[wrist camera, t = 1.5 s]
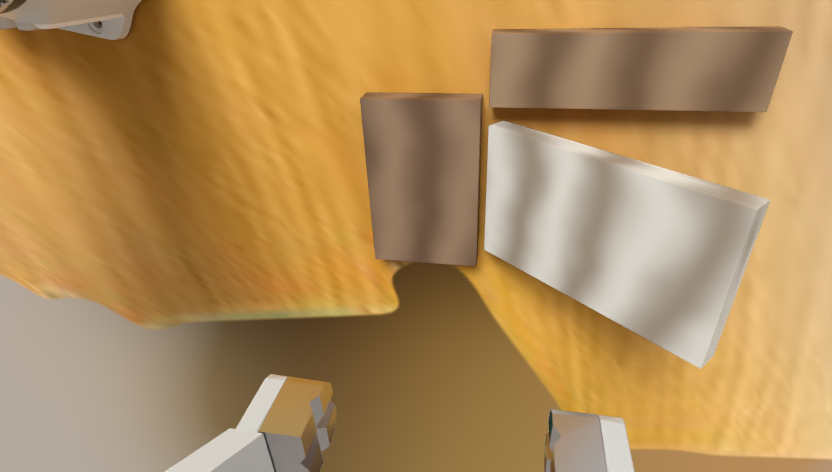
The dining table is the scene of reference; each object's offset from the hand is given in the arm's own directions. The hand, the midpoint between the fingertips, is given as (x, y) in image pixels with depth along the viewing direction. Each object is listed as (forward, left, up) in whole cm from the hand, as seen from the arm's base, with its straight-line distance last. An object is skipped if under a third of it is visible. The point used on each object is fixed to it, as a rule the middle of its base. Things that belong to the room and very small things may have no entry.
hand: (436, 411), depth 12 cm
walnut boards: (+4, -8, -34) cm, 35 cm away
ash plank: (+8, -10, -27) cm, 30 cm away
